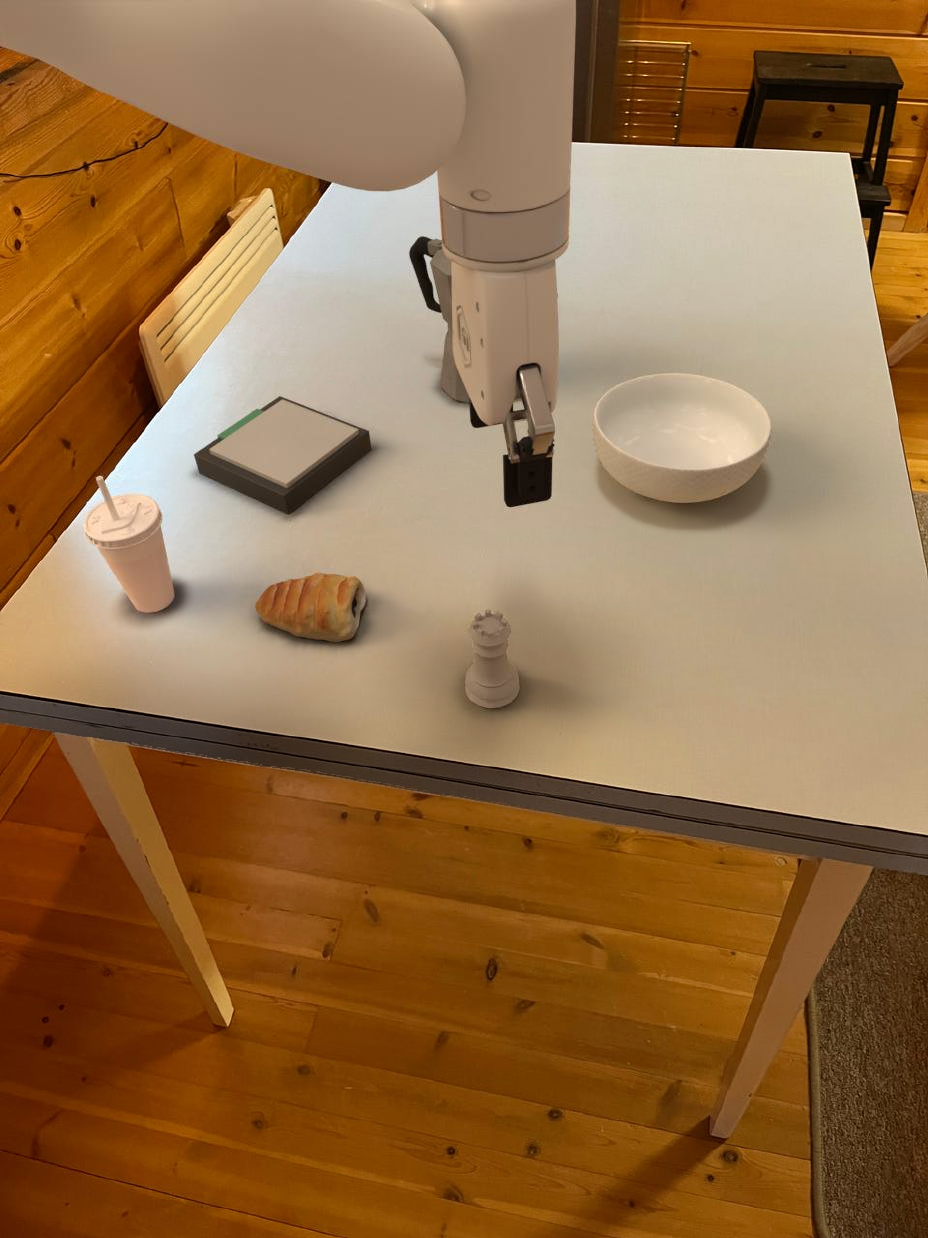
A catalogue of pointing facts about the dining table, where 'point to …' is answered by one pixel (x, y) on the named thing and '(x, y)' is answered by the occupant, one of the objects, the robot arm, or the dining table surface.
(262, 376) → the dining table surface
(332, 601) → the pastry
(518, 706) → the dining table surface
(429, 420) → the dining table surface
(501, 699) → the rook chess piece
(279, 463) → the scale
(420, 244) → the coffeepot
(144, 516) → the smoothie
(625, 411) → the cereal bowl
